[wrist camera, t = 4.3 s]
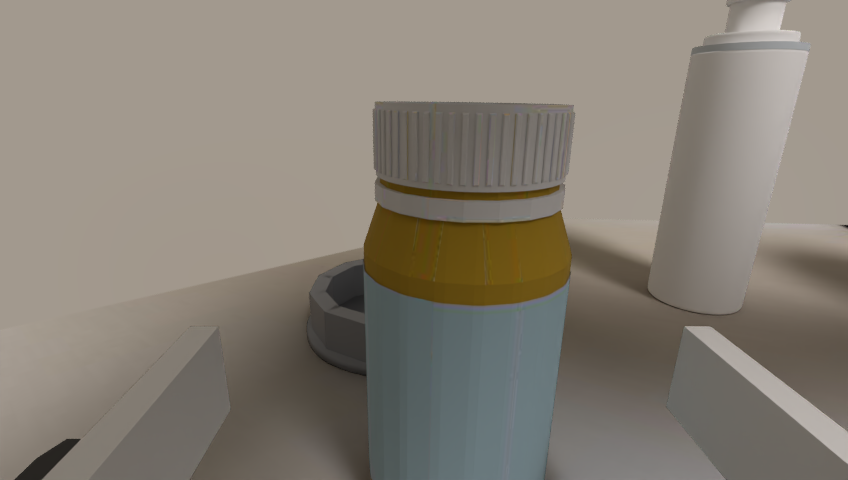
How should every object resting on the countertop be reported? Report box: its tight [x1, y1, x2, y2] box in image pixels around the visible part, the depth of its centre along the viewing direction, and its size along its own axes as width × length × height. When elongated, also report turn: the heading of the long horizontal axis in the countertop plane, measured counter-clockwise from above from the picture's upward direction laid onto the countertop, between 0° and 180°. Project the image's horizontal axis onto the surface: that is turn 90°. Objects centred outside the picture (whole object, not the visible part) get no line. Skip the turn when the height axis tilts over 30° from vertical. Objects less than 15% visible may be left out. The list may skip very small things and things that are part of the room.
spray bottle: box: [648, 0, 811, 315], centre depth 32 cm, size 7×7×25 cm
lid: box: [307, 259, 367, 375], centre depth 30 cm, size 12×12×3 cm
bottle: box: [363, 102, 575, 480], centre depth 16 cm, size 7×7×15 cm
